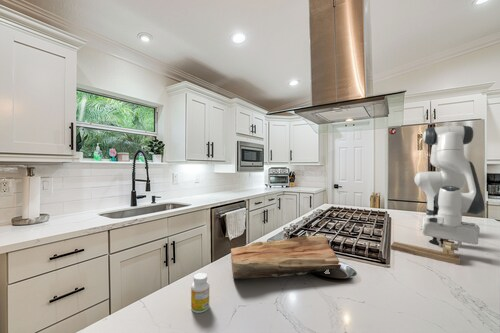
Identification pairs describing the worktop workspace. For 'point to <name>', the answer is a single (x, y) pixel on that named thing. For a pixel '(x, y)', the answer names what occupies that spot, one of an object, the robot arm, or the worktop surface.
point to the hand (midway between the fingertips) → (448, 248)
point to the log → (283, 257)
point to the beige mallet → (448, 246)
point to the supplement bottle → (200, 293)
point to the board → (426, 252)
